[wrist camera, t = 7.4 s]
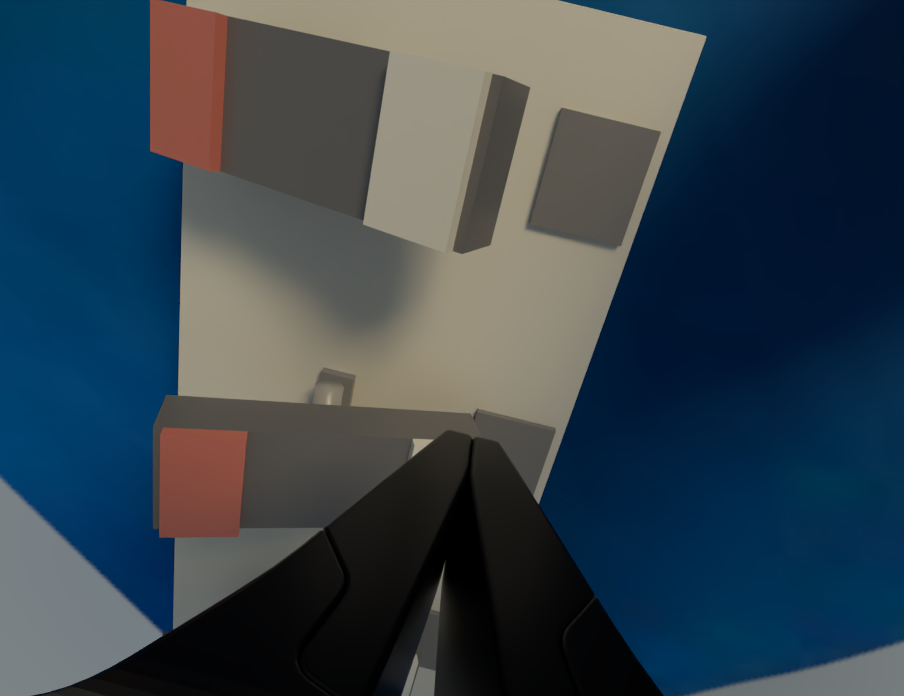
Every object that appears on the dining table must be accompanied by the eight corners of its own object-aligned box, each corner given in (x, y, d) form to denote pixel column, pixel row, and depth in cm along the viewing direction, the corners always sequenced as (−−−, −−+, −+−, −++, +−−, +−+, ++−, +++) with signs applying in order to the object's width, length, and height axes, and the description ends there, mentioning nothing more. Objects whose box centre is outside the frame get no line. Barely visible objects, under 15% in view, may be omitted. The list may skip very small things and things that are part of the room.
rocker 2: (459, 388, 17) (487, 448, 14) (439, 466, 18) (462, 534, 16) (177, 367, 15) (149, 434, 12) (175, 458, 16) (150, 537, 13)
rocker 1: (551, 96, 11) (497, 73, 9) (513, 238, 12) (455, 256, 10) (255, 30, 14) (143, -4, 11) (247, 152, 15) (144, 148, 12)
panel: (766, -226, 13) (843, -333, 10) (470, 644, 25) (463, 718, 22) (265, -344, 13) (188, -487, 10) (211, 578, 25) (168, 643, 22)
